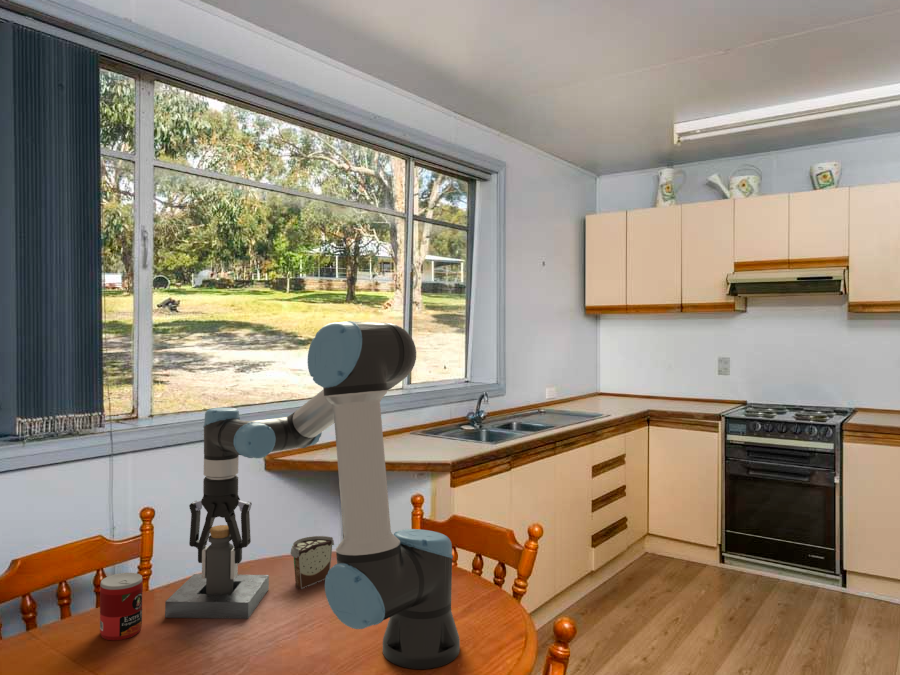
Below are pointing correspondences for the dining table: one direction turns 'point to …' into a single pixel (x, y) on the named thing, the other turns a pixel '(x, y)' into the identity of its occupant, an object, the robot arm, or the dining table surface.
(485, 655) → the dining table surface
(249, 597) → the plate
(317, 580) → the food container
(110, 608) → the canned food
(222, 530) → the bottle
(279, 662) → the dining table surface
